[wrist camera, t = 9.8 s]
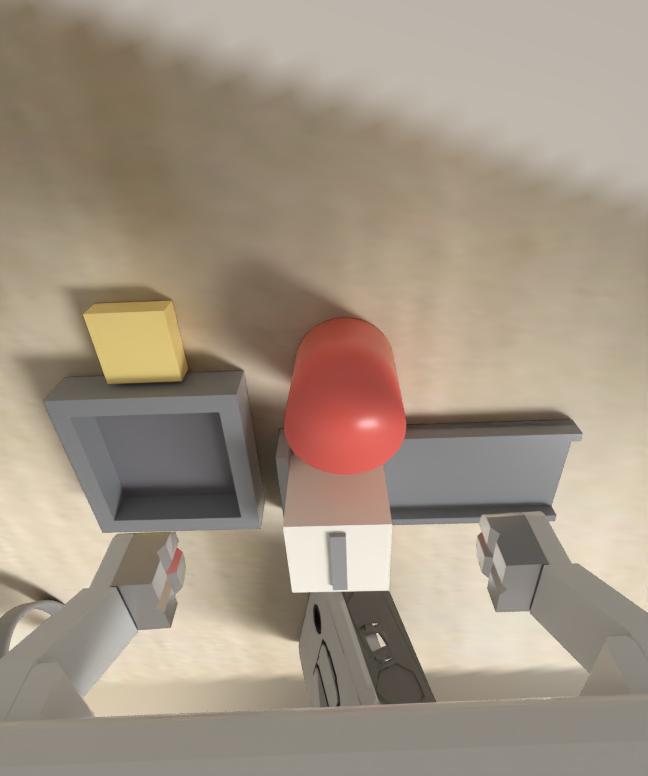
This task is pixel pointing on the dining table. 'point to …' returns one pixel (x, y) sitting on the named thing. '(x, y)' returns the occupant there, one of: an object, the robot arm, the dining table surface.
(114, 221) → the dining table surface
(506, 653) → the dining table surface
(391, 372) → the cap
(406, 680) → the electrical switch
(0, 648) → the wristwatch
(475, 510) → the rail
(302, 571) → the white slotted block
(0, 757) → the robot arm
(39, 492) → the dining table surface
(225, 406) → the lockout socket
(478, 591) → the dining table surface
